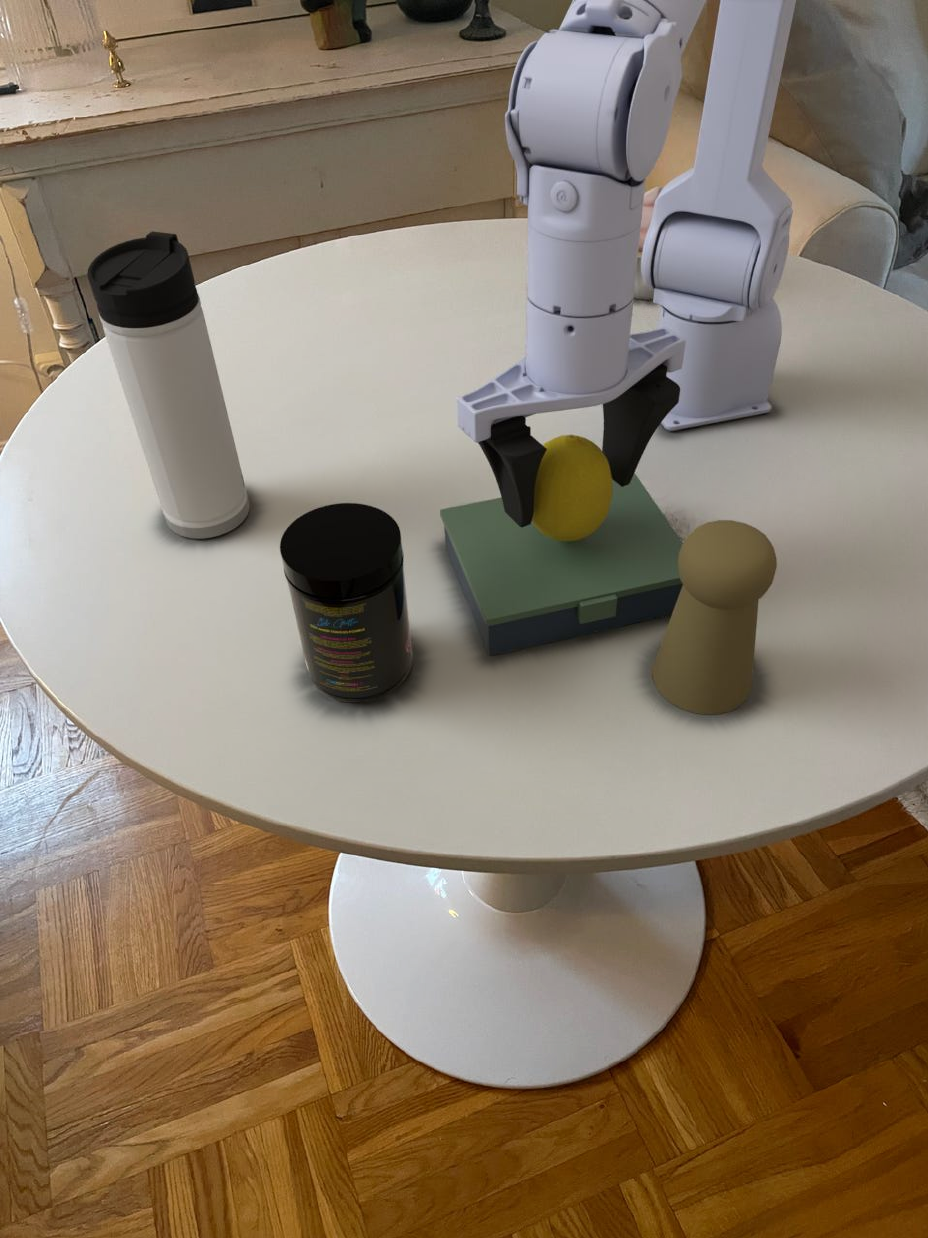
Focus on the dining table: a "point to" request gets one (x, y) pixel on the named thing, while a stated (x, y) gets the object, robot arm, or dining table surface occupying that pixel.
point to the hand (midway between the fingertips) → (568, 497)
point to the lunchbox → (563, 571)
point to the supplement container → (349, 599)
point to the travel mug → (171, 382)
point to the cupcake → (648, 206)
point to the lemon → (572, 489)
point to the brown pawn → (715, 618)
